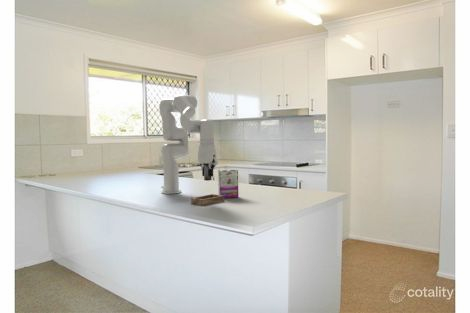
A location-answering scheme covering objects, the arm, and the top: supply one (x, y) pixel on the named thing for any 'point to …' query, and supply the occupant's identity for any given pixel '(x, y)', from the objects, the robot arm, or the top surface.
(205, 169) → the battery cell
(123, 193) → the top surface
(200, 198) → the tray
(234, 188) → the candy bar box
